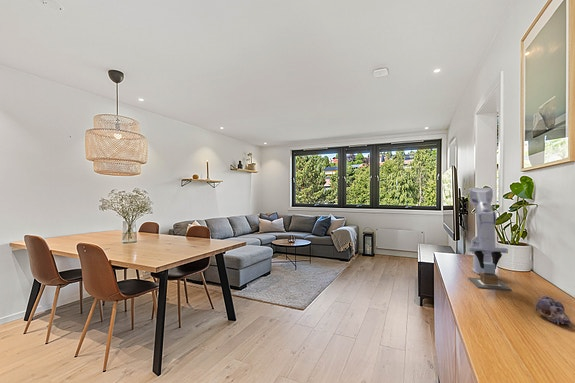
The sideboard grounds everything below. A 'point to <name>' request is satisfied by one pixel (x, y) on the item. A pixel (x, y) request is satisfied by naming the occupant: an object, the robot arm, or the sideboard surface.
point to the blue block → (489, 267)
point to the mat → (480, 284)
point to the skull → (552, 310)
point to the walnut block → (489, 278)
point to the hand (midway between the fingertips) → (488, 268)
